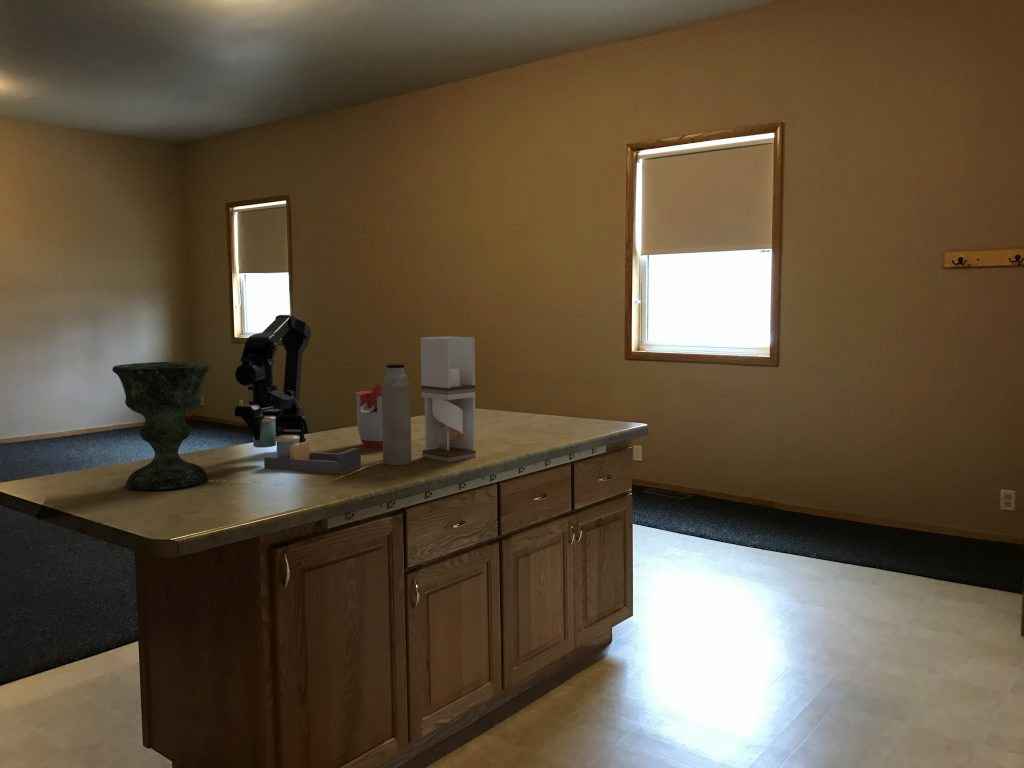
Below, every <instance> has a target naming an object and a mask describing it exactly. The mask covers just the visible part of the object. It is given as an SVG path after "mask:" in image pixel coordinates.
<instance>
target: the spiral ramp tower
mask: <svg viewBox="0 0 1024 768" xmlns="http://www.w3.org/2000/svg"><path fill="white" fill-rule="evenodd" d="M475 340H476V339H475V337H472V336H471V337H468V336H467V337H466V336H433V337H431V336H430V337H429V336H428V337H420V370H421V371H420V373H421V374H420V375H421V377H420V378H421V383H420V384H421V387H420V388H421V398H424V434H425V435H424V436H425V437H424V443H425V444H424V446H425V447H424V448H425V449H423V450H422V451H421V452H422V453H421V454H422V455H421V456H422V458H424V457H425V459H429V460H430V459H431V460H436V461H441V462H446V463H451V462H458V461H462V460H467V459H472V458H476V456H477V454H476V452H477V451H476V445H477V443H476V442H477V441H476V341H475Z"/></svg>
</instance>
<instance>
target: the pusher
mask: <svg viewBox="0 0 1024 768" xmlns="http://www.w3.org/2000/svg"><path fill="white" fill-rule="evenodd" d="M310 450H311V449H310V441H307V440H306V441H305V442H302V443H299V444H295V445H292V446H290V459H307V460H310V452H311V451H310Z"/></svg>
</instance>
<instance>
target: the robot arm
mask: <svg viewBox="0 0 1024 768" xmlns="http://www.w3.org/2000/svg"><path fill="white" fill-rule="evenodd" d="M311 336H312V329H311V327H310V326H309V325H308V324H307V323H306V322H305V321H303V320H301V319H298V318H296V317H295V316H294V315H292V314H279V315H276V316H275V318H274V320H273V321H272V322H271V323H270V324H269V325H268V326H267V327H266V328H265V329H264V330H263V331H262V332H258V333H253V334H252V335H249V336H248V337H247V339H246V341H245V343H244V346H243V349H242V355H241V357H240V362H241V364H240V365H239V366H238V367H237V368H236V370H235V372H234V373H235V375H234V376H235V380H236V381H237V382H238V383H239V384H240V385H241V386H245V387H246V386H247V388H248V391H251V400H249V401H248V404H247V403H246V404H245V403H244V404H238V405H236V406H235V407H234V408H233V417H240V419H242V420H243V421H244V423H245V424H246V426H247V427H248V429H249V430H250V431H249V432H250V433H251V435H252V437H254V438H255V440H260V429H261V421H262V419H263V418H264V417H265V416H262V415H273V416H276V420H275V426H276V435H280V436H282V435H298V436H300V440H299V443H302V442H305V441H307V439H306V437H305V435H306V434H307V435H308V434H309V432H310V424H309V421H308V420H307V418H306V416H305V409H304V407H303V406H302V404H301V402H300V393H301V379H302V364H303V353H304V352H305V351H306V350H307V348H308V346H309V345H310V344H309V343H310V339H311ZM280 340H281V344H282V346H283V349H284V350H285V363H284V364H285V365H284V376H283V377H284V379H283V391H279V390H278V386H277V385H276V384H274V369H273V365H275V360H274V357H275V355H276V353H277V351H278V343H279V342H280Z"/></svg>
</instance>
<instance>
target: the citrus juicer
mask: <svg viewBox="0 0 1024 768" xmlns="http://www.w3.org/2000/svg"><path fill="white" fill-rule="evenodd" d="M382 384H383V383H382V382H379V383H377V384H376V386H374V388H373V389H371V390H362V391H361V390H360V391H357V392H355V395H356V422H357V423H356V424H357V429H358V430H357V431H358V434H359V438H360V441H361V443H362V445H363V446H364V447H365V446H368V447H369V448H382V447H383V430H382ZM368 447H367V448H368Z"/></svg>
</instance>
